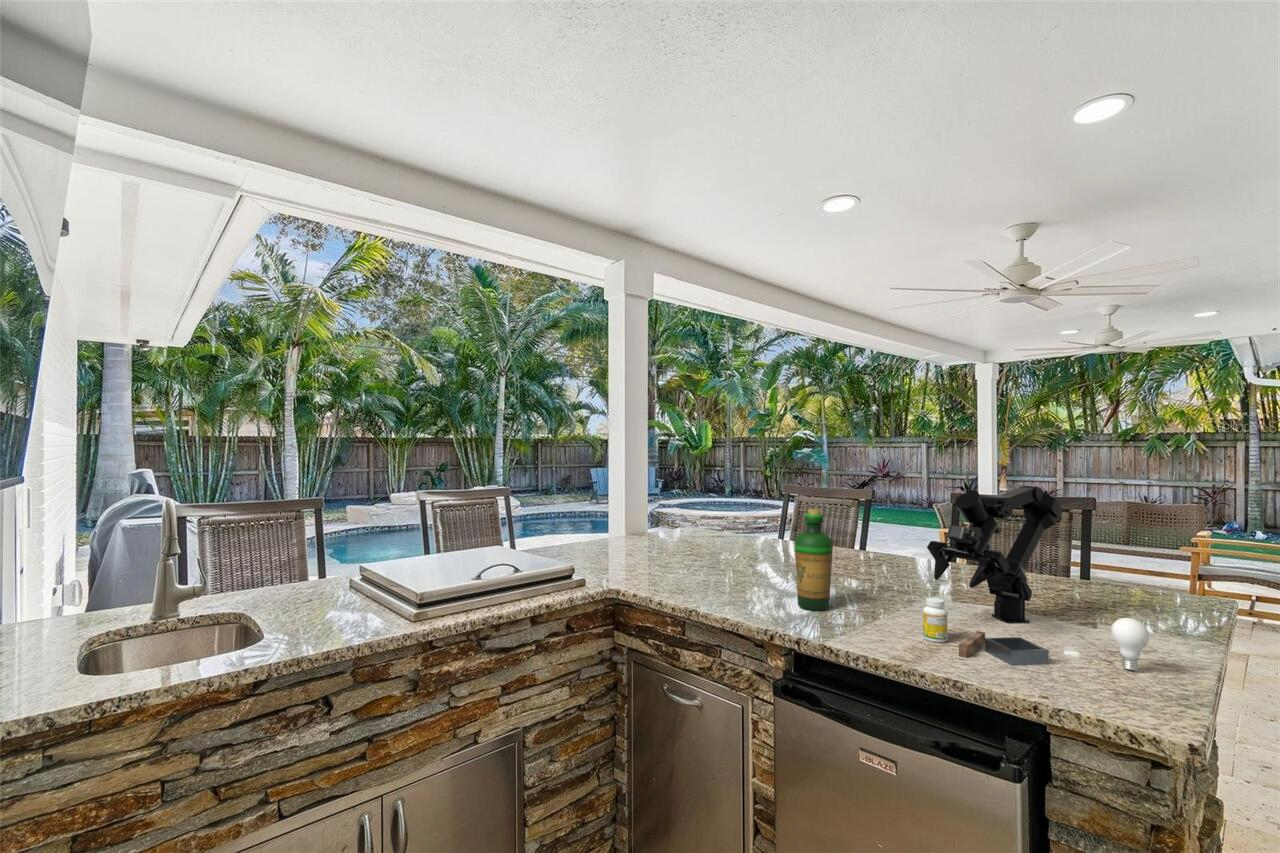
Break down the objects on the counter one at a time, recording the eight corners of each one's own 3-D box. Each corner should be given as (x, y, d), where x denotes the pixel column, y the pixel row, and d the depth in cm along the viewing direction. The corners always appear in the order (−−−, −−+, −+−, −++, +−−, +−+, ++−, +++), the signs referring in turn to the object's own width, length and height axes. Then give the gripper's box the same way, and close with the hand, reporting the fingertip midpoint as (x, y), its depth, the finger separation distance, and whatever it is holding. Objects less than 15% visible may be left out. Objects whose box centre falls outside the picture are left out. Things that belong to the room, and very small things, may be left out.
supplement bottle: (943, 644, 144) (943, 603, 144) (919, 639, 147) (920, 599, 148) (950, 639, 148) (950, 599, 148) (926, 634, 151) (926, 595, 152)
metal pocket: (1020, 650, 140) (1020, 637, 140) (1048, 664, 132) (1048, 650, 132) (985, 651, 140) (984, 638, 140) (1011, 665, 131) (1011, 651, 131)
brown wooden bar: (977, 641, 146) (977, 630, 146) (985, 643, 145) (985, 632, 145) (958, 655, 136) (958, 644, 136) (966, 657, 135) (966, 646, 135)
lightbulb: (1103, 665, 132) (1103, 614, 132) (1130, 664, 132) (1130, 613, 132) (1129, 676, 125) (1129, 623, 125) (1157, 676, 126) (1157, 622, 126)
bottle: (791, 610, 172) (792, 510, 172) (796, 600, 182) (797, 506, 182) (831, 614, 168) (831, 512, 168) (834, 604, 178) (834, 508, 178)
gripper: (931, 510, 163) (904, 555, 157) (1002, 518, 146) (976, 569, 141) (949, 537, 166) (923, 582, 161) (1020, 548, 150) (995, 599, 144)
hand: (952, 582), depth 151 cm, fingers open, 9 cm apart
